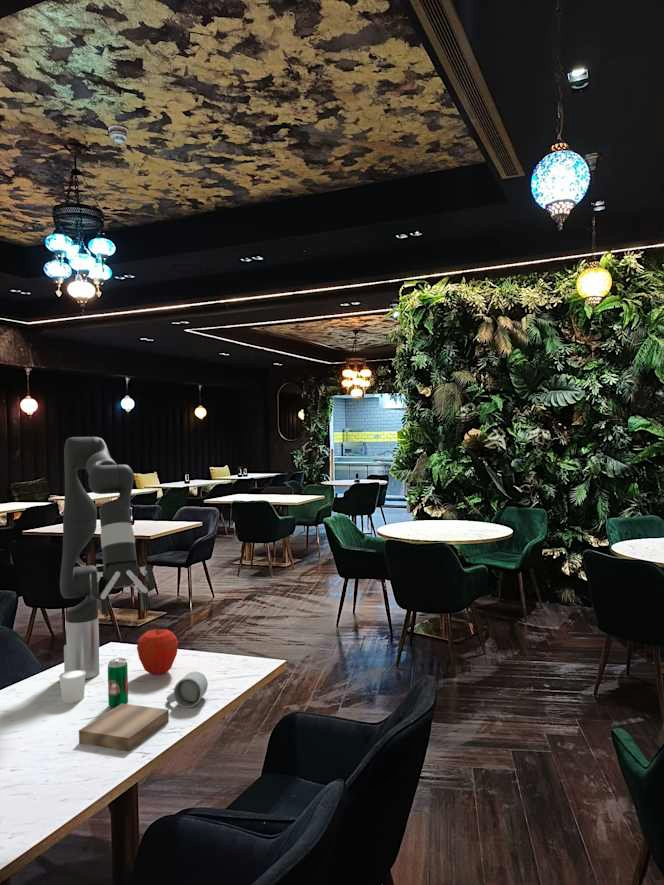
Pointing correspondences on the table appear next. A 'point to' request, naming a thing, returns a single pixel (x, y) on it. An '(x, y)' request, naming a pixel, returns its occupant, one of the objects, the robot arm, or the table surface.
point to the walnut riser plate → (124, 727)
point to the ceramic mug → (189, 690)
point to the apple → (157, 651)
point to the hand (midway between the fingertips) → (125, 613)
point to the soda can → (117, 682)
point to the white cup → (72, 686)
